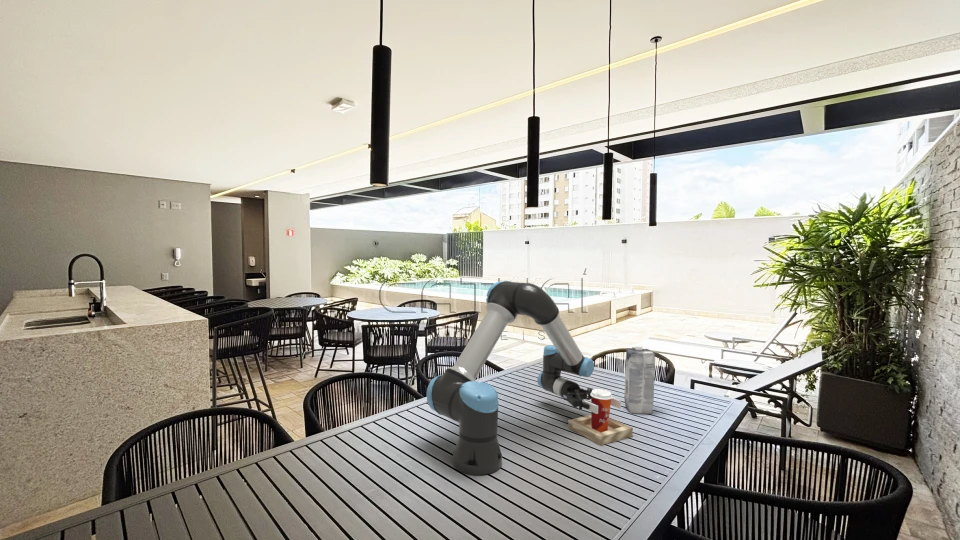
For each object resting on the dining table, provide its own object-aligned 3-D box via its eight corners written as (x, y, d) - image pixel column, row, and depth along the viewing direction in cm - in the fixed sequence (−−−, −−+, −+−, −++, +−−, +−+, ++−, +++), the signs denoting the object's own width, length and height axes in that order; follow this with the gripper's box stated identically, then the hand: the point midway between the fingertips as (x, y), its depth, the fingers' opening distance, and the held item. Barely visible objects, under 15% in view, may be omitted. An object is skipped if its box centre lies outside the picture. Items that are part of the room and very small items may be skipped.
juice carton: (655, 415, 168) (657, 349, 167) (629, 414, 168) (631, 349, 167) (646, 407, 177) (649, 345, 176) (622, 406, 177) (624, 344, 176)
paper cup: (606, 436, 145) (608, 397, 144) (585, 429, 149) (587, 392, 148) (613, 428, 151) (615, 391, 150) (593, 422, 156) (595, 386, 155)
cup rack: (600, 445, 139) (600, 436, 139) (568, 427, 153) (568, 420, 153) (632, 436, 147) (632, 428, 147) (599, 420, 161) (599, 412, 161)
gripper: (587, 394, 171) (630, 412, 152) (544, 403, 160) (584, 423, 140) (588, 376, 171) (631, 392, 152) (544, 383, 159) (585, 401, 140)
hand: (609, 407), depth 146 cm, fingers open, 11 cm apart
